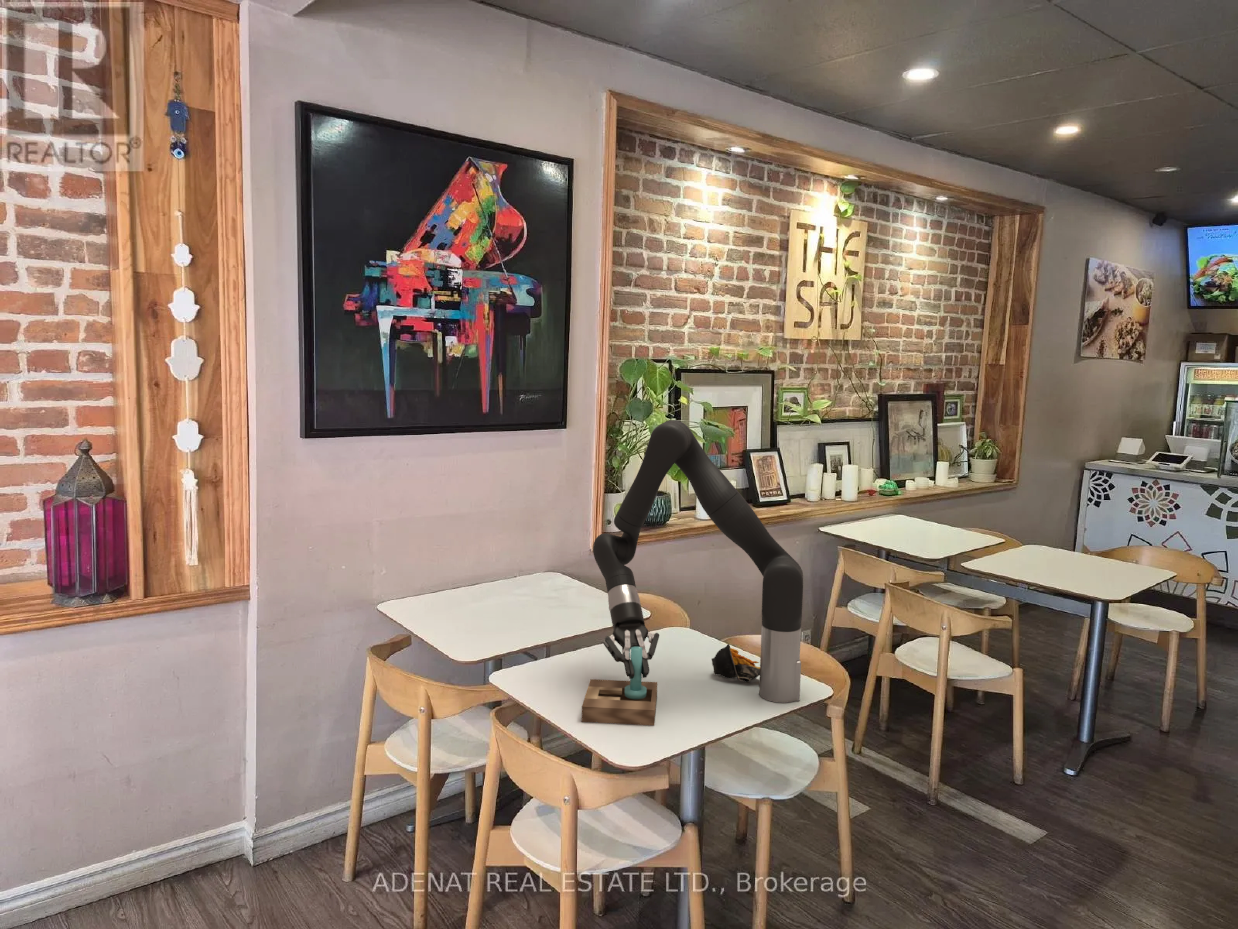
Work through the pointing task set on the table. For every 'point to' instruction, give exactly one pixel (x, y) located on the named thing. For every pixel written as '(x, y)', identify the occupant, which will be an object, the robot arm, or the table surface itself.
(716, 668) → the black fries container
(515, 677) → the table surface
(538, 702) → the table surface
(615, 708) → the keyhole plate
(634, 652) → the peg
